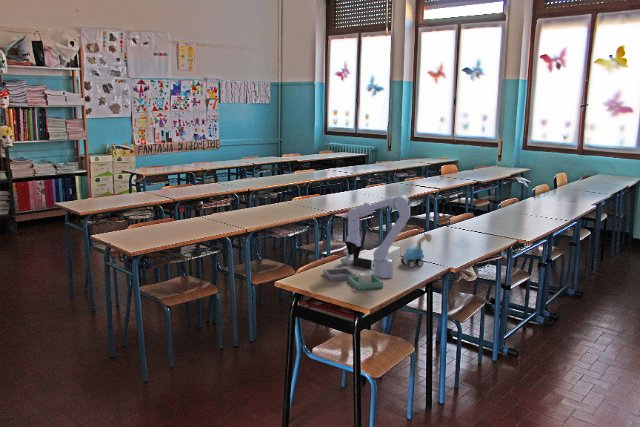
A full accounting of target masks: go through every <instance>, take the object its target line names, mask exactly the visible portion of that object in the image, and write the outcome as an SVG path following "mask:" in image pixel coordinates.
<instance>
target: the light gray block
mask: <svg viewBox="0 0 640 427" xmlns="http://www.w3.org/2000/svg"><path fill="white" fill-rule="evenodd" d="M371 275H372V274H371V273H370V272H359V273H358V276H359V284H364V283H371Z"/></svg>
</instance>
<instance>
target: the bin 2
mask: <svg viewBox="0 0 640 427" xmlns="http://www.w3.org/2000/svg"><path fill="white" fill-rule="evenodd" d="M347 282H349V283H350V284H351V285H352V286H353V287H354V288H355V290H356V291H358V292H359V291H360V292H361V291H369V290H379V289H384V281H382V280H381V279H379V277H376V276H374V275H373V274H371V283H364V284H359V275H356V276H352V277H348V280H347Z"/></svg>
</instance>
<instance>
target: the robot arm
mask: <svg viewBox="0 0 640 427" xmlns="http://www.w3.org/2000/svg"><path fill="white" fill-rule="evenodd" d="M386 207H391V208H395V209H396V210H397V211H398V215H399V216H398V219H397V220H396V222H395V223H394V225H393V226H392V227H391V229H390V231H389V232H388V234H387V235H386V237H385V238H384V240H383V241H382V243H381V244H380V245H378V246H377V247H376V248H377V249H376V250H375V251H374V254H373V256H374V270H373V274H372V275H374V276H375V277H377V278H381V279H390V278H391V279H392V278H394V274H393V273H394V263H393V261H392V260H391V259H388V258H387V256H386V255H387V254H388V251H389V248H390V247H391V246H393V243H394V242H395V241H396V238H397V237H399V234H400V233H401V231H402V230H403V229H404V227H405V225H406V224H407V222H408V221H409V219H410V218H411V201H410V199H409V196H408V195H406V194H404V193H403V194H399V195H394V196H390V197H387V198H385V199H382V200H380V201H377V202H375V203H371V202H366V201H365V202H364V203H363V204H361V205H355V206H353V207H352V208H350V209H349V210H348V211H347V213H346V215H347V219H348V222H347V236H346V239H345V241H344V244H345V246H346V250H348V254H349V255H351V256H353V257H354V259H358V257H359V255H360V254H361V251H362V248H363V245H362V243H361V241H360V218H363V217H366V216H368V215H372V214H373V213H374V212H375V210H378V209H379V210H380V209H383V208H386Z"/></svg>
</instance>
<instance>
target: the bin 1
mask: <svg viewBox="0 0 640 427" xmlns="http://www.w3.org/2000/svg"><path fill="white" fill-rule="evenodd" d="M322 271H323V272H322V274H323V276H325V277H326V278H327V279H328V280H329V281H330V282H332V283H333V282H341V281H348V277H352V276H357V274H356V273H354V272H353V271H352V270H350V269H349V268H348V267H341V268H340V267H339V268H331V269H330V268H329V269H322Z"/></svg>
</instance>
